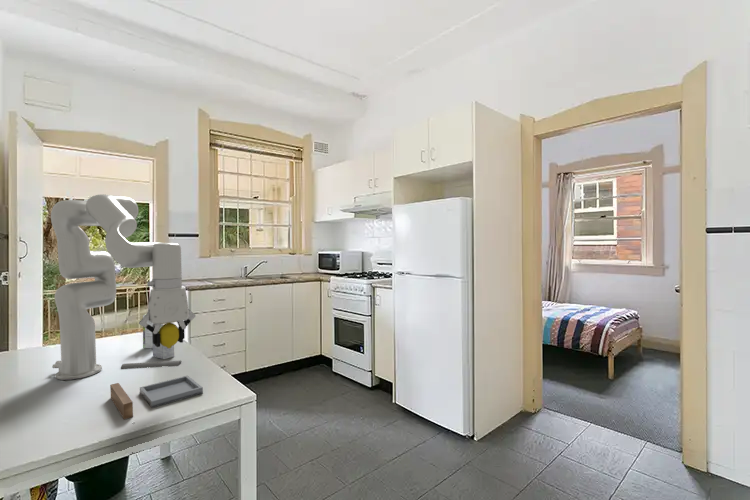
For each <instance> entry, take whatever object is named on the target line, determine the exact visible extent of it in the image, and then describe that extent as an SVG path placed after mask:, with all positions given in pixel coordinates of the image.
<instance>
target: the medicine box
mask: <svg viewBox="0 0 750 500" xmlns="http://www.w3.org/2000/svg"><path fill="white" fill-rule="evenodd" d="M152 342H153V336H152ZM152 356H153V357H154V358H158V359H160V360H168V359H171V358H174V357H175V345H173V346H172V347H171V348H167V347H165V346H163V345H161V344H160V347H156V346H155V344H153V348H152Z"/></svg>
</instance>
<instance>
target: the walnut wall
mask: <svg viewBox="0 0 750 500" xmlns="http://www.w3.org/2000/svg"><path fill="white" fill-rule="evenodd" d="M110 399H111V401H112V402H113V404H114V406H115V408H116V409H117V411H118V412H119V414H120V415H121V417H122V418H123V420H127V419H130V418H133V417H134V406H133V405H134V404H133V403H134V402H133V400H132V399H131V398H130V396H129V395H128V394H127V392H126V391H125V390H124V388H123V387H122V385H121V384H120V383H119V382H117V383H112V384H110Z"/></svg>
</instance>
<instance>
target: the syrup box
mask: <svg viewBox="0 0 750 500" xmlns="http://www.w3.org/2000/svg"><path fill="white" fill-rule="evenodd" d="M146 314H147V313H145V314H142V318H143V317H144V316H145V315H146ZM147 324H149V325H150V326H152V325H153V323H152V322H150V321H149V320H148V321H147ZM163 325H164V324H161V325H160V327H159V330H160V328H161V327H162V326H163ZM159 330H158V331H159ZM152 336H153V335H152V332H151V331H149V330H148V329H146V328H145V327H143V326H142V348H143V349H153V342H152Z"/></svg>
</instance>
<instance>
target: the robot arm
mask: <svg viewBox="0 0 750 500" xmlns="http://www.w3.org/2000/svg"><path fill="white" fill-rule="evenodd" d="M138 216H139V206H138V203H137V202H136V201H135V200H134V199H132V198H131V197H129V196H124V195H122V196H121V195H112V194H95V195H93V196H90V197H88V199H87V200H83V199H81V200H80V199H65V200H61V201H58V202H56V203H54V205H53V206H52V209H51V212H50V221H51V226H52V228H53V231H54V234H55V236H56V241H57V259H58V269H59V273H60V276H61V277H63V278H64V279H68V280H75V279H76V280H77V279H78V280H79V279H91V278H94V280H92V281H81V282H80V281H79V282H72V283H67V284H64V285H62V286H60V287H58V288H57V289H56V290H55V293H54V303H55V305H56V306H55V307H56V309H57V314H58V321H59V335H60V336H59V338H60V339H59V340H60V360H56V361H55V363H54V364H52V367H51V368H52V369H58V371H57V372H56V374H55V378H56V379H57V380H60V381H64V380H65V381H67V380H68V381H69V380H75V379H76V380H78V379H83V378H87V377H90V376H93V375H96V374H98V373H99V372H101V371H102V370H103V365H100V363H99V364H97V347H96V345H97V344H96V343H97V341H96V322H95V319H94V317H93V316H92V315H91V314H90V313H89V312H88V310H89V309H95V308H101V307H105V306H110V305H111V304H113V303H114V302H115V300H116V296H117V280H116V279H117V278H116V266H115V265H116V264H115V262H116V263H118V264H119V265H120V266H122V267H123V268H127V269H135V268H146V267H149V268H150V267H152V280H151V281H147V283H146V285H147V287H152V289H150V292H149V298H148V308H147V312H146V313H145V314H146V315H145V314H144V315H145V316H144V317H143V316H142V318H141V319H140V320H139V322H138V324H139V325H140V326H142V328H143V327H145V328H146V329H148V330H149V331H151V332H152V335H153V344H155V346H156V347H160V333H159V331H158V330H159V327H160V325H161V324H163V325H164V324H166V323H177V325H178V326H177V327H178V330H179V339H178V341H177V342H179V343H184V340H185V329H186V328H187V326H188V325H189V324H190V323H191V322H192V321H193V319H195V318H196V314H195V313H194V312H193V311H191V310H190V309H189V302H188V295H187V290H186V287H185V286H184V287H183V282H182V280H183V279H182V277H183V275H182V274H183V273H182V248H181V245H180V244H179V243H175V242H162V241H161V242H160V241H142V242H141V241H139V242H138V241H136V242H135V241H133V242H131V241H128V240H127V239H126V238H129V237H131V236H132V235H133V234H134V233H135V232H136V230H137V226H138V224H137V220H136V218H137V217H138ZM80 226H82V227H83V226H85V227H86V226H88V227H101V228H102V229H103V230H104V231H105V232H106V233H105V247H106V251H105V250H91V249H90V239H89V236H88V234H86V232H85V230H83V229H82V228H81V227H80ZM148 320H149V321H150V322H152V323H153V325H152V326H150V325H149V324H147V321H148Z"/></svg>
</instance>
